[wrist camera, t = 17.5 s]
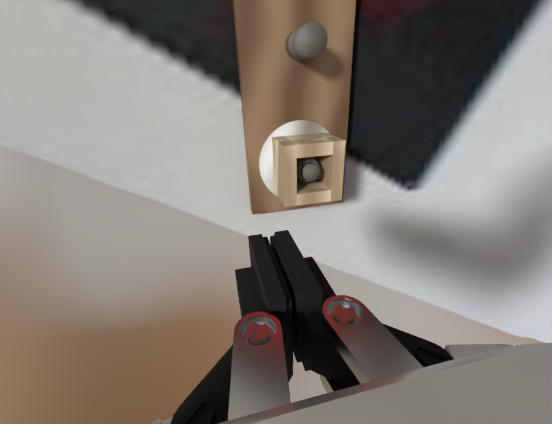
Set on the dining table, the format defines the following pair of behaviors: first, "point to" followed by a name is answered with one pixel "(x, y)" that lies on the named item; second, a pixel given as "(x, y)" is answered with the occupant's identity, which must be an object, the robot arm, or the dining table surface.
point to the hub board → (291, 82)
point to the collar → (326, 154)
